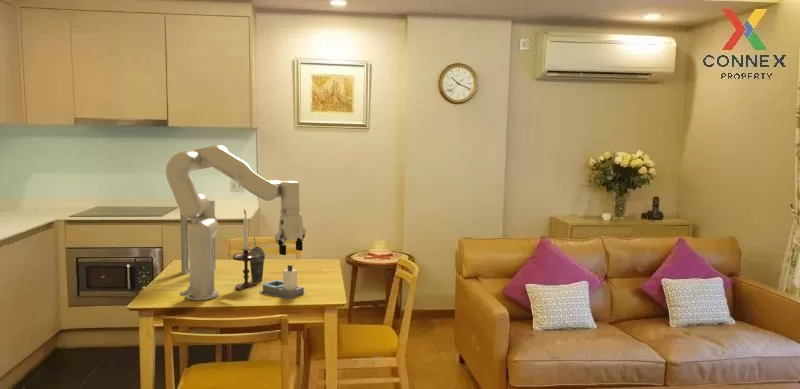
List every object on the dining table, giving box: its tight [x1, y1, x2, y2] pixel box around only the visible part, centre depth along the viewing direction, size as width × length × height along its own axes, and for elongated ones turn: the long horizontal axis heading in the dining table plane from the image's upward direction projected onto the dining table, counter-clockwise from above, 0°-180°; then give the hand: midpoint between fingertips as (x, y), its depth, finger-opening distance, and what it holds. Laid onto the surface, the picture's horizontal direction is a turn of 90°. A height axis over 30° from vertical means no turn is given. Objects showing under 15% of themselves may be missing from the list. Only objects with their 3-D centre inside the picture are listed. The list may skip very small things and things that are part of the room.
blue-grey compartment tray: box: [259, 279, 309, 300], centre depth 239 cm, size 12×17×4 cm
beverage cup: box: [248, 236, 266, 283], centre depth 259 cm, size 7×7×20 cm
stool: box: [179, 196, 217, 275], centre depth 272 cm, size 16×16×35 cm
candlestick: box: [232, 208, 259, 291], centre depth 246 cm, size 11×11×35 cm
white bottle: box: [282, 264, 298, 291], centre depth 237 cm, size 4×4×12 cm
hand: (291, 252), depth 235 cm, fingers open, 9 cm apart
